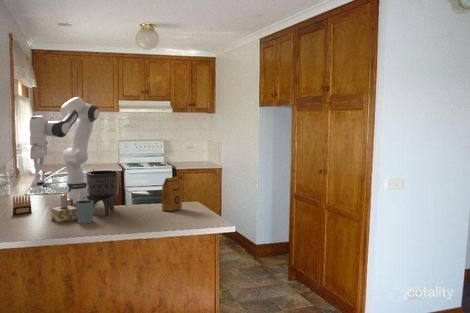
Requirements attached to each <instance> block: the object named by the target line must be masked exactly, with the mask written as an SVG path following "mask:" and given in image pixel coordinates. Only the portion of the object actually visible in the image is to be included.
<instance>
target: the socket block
mask: <svg viewBox="0 0 470 313" xmlns="http://www.w3.org/2000/svg"><path fill="white" fill-rule="evenodd" d="M50 209H51V220H52V221H54V222H56V223H58V224H61V223H66V222H73V221H77V212H76V206H74V207H72V206H67V209H61V206H57V207H51V208H50Z"/></svg>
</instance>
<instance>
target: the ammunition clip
mask: <svg viewBox="0 0 470 313" xmlns="http://www.w3.org/2000/svg"><path fill="white" fill-rule="evenodd" d="M31 202H32V200H31V196H30V194H28V196H27V195H22V196H21V195H19V197H18V195H16V196H13V197H12V216H20V215H28V214H32V213H33V212H32V203H31Z"/></svg>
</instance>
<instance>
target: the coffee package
mask: <svg viewBox="0 0 470 313" xmlns="http://www.w3.org/2000/svg"><path fill="white" fill-rule="evenodd" d="M182 203H183V202H182V190H181V187H180V185H179V182H178V176H173V177H166V178H165V179H164V182H163V184H162V187H161V210H162V211H166V212H173V211H178V210H182V206H183V205H182Z"/></svg>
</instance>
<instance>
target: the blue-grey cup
mask: <svg viewBox="0 0 470 313" xmlns="http://www.w3.org/2000/svg"><path fill="white" fill-rule="evenodd" d="M74 205H75V208H76V212H77V220H76V221H77V224H89V223H90V224H91V223H92V222H94V209H93V201H92V200H82V201H77V202H75V204H74Z"/></svg>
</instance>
